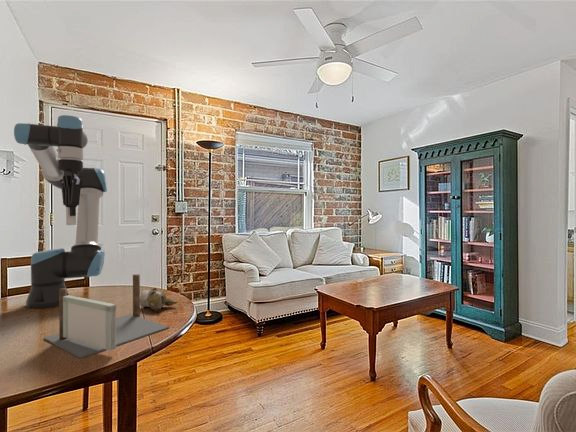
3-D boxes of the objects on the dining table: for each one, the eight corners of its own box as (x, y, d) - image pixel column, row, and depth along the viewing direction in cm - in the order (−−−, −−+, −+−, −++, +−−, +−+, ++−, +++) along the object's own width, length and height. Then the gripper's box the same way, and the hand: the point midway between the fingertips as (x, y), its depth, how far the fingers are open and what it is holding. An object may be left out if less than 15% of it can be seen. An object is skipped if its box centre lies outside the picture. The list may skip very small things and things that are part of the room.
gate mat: (44, 339, 101) (44, 337, 101) (129, 315, 125) (129, 314, 125) (80, 358, 88) (80, 356, 88) (169, 328, 111) (169, 326, 111)
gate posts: (57, 340, 100) (57, 289, 100) (137, 315, 125) (136, 273, 125) (61, 342, 99) (61, 289, 99) (141, 316, 124) (141, 274, 123)
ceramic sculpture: (152, 282, 142) (179, 288, 136) (152, 302, 142) (178, 308, 136) (132, 288, 132) (159, 294, 126) (131, 309, 133) (158, 316, 126)
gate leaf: (63, 336, 99) (62, 296, 99) (69, 334, 101) (69, 295, 101) (109, 350, 89) (109, 306, 89) (115, 348, 91) (115, 304, 91)
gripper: (51, 159, 118) (52, 224, 119) (66, 157, 110) (66, 226, 111) (74, 162, 124) (75, 223, 125) (89, 159, 116) (90, 225, 117)
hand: (71, 224), depth 118 cm, fingers closed
